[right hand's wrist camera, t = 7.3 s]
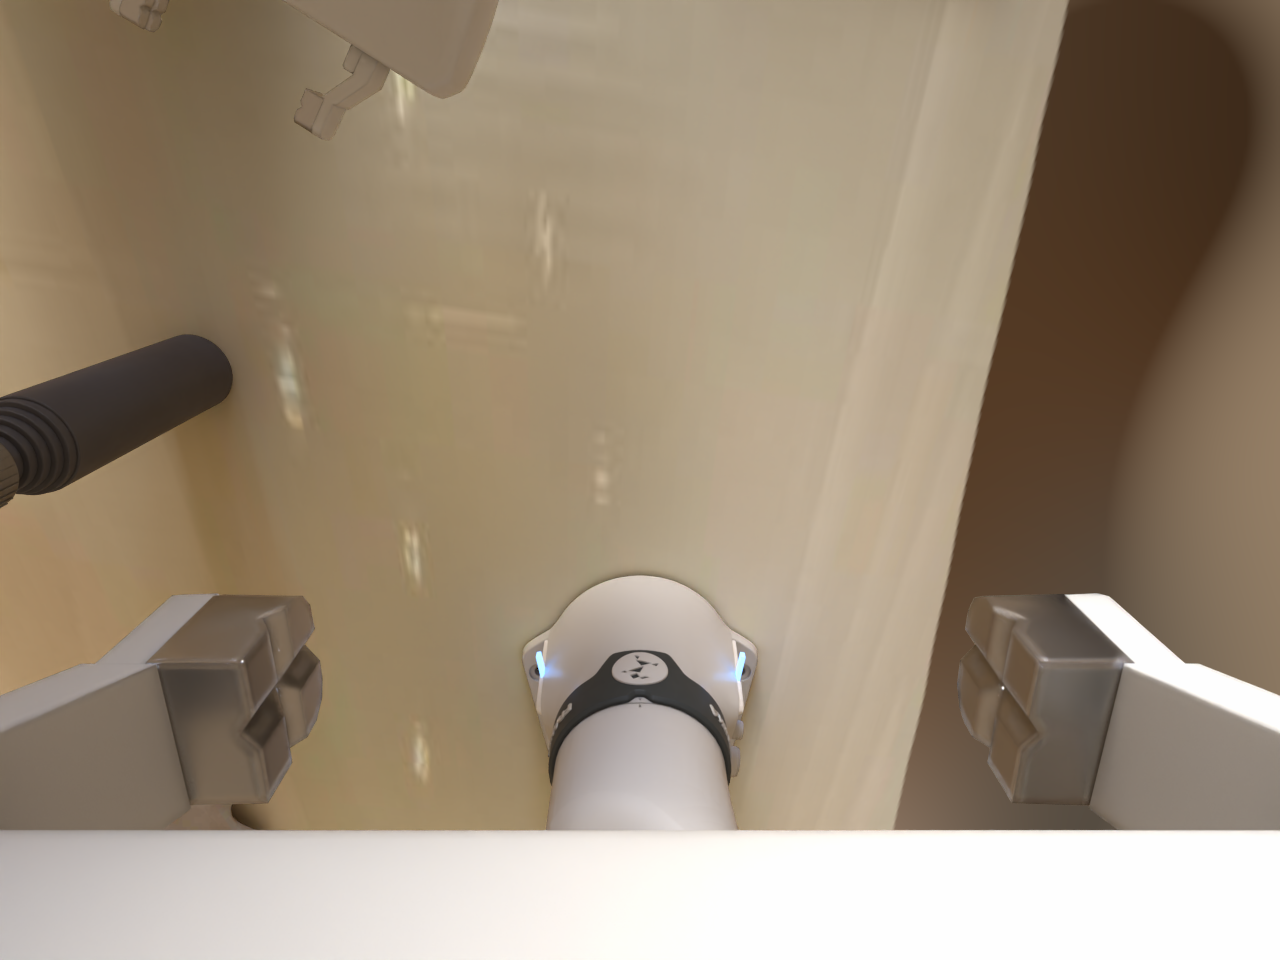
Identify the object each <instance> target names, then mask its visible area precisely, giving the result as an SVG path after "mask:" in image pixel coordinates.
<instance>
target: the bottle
mask: <svg viewBox="0 0 1280 960" xmlns="http://www.w3.org/2000/svg"><path fill="white" fill-rule="evenodd" d="M231 385H232V370H231V367H230V364H229V361H228V360H227V358H226V356H225V355H224V353H223V352H222V351H221V350H220V349H219V348H218V347H217V346H216V345H215V344H213V343H212V342H210V341H209V340H207V339H205V338H202V337H199V336H195V335H179V336H176V337H173V338H170V339H167V340H164V341H161V342H158V343H156V344H153V345H150V346H147V347H144V348H141V349H138V350H135V351H133V352H130V353H127V354H124V355H121V356H118V357H115V358H112V359H110V360H107V361H104V362H101V363H98V364H95V365H92V366H89V367H87V368H84V369H81V370H78V371H75V372H72V373H69V374H66V375H64V376H61V377H58V378H55V379H52V380H49V381H46V382H43V383H41V384H38V385H35V386H32V387H29V388H26V389H23V390H20V391H18V392H15V393H12V394H9V395H6V396H3V397H0V443H1V444H2V445H3V446H4V447H5V448H6V449H7V450H8V452H9V453H10V454H11V456H12V457H13V459H14V461H15V463H16V466H17V469H18V473H19V485H18V489H17V492H16V494H25V495H40V494H45V493H49V492H54V491H57V490H60V489H62V488H64V487H65V486H67V485H69V484H71V483H73V482H75V481H76V480H78V479H80V478H82V477H84V476H86V475H88V474H89V473H91V472H93V471H95V470H97V469H99V468H100V467H102V466H104V465H106V464H108V463H110V462H111V461H113V460H115V459H117V458H119V457H121V456H123V455H124V454H126V453H128V452H130V451H132V450H134V449H135V448H137V447H139V446H141V445H143V444H145V443H147V442H148V441H150V440H152V439H154V438H156V437H158V436H159V435H161V434H163V433H165V432H167V431H169V430H171V429H172V428H174V427H176V426H178V425H180V424H182V423H183V422H185V421H187V420H189V419H191V418H193V417H194V416H196V415H198V414H200V413H202V412H204V411H206V410H207V409H209V408H211V407H213V406H215V405H217V404H218V403H220V402H221V401H223V400H224V399H225V398H226V396H227V395H228V393H229V391H230V389H231Z"/></svg>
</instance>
